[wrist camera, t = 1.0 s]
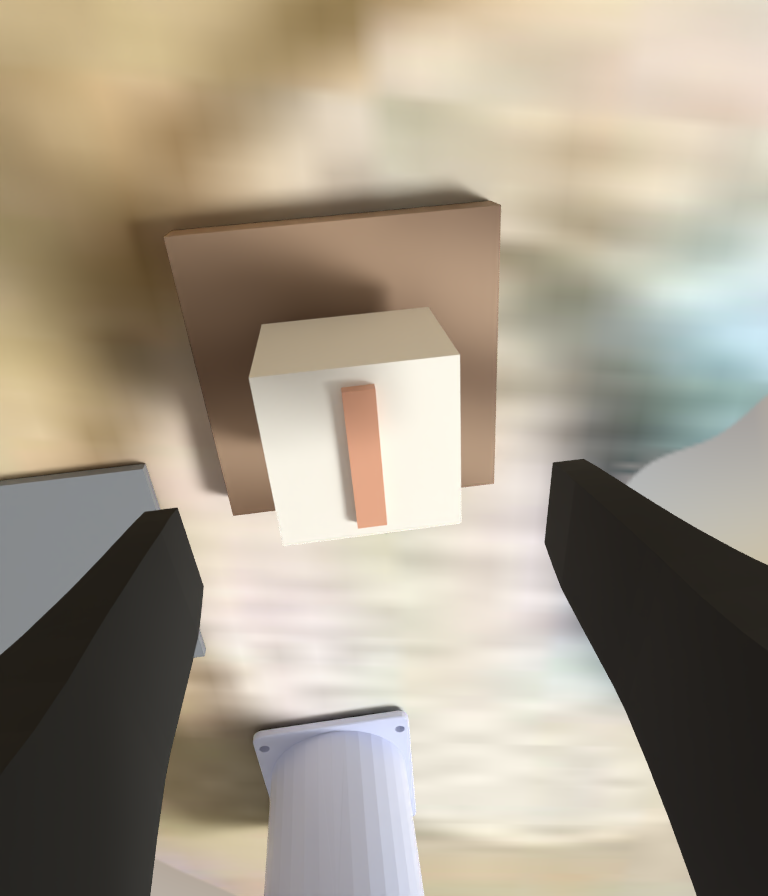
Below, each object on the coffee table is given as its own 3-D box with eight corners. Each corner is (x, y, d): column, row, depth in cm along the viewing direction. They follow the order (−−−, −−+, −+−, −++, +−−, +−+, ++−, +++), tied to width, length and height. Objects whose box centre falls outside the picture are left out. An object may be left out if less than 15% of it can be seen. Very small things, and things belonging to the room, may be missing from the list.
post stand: (485, 467, 23) (535, 565, 18) (236, 497, 23) (214, 608, 17) (490, 200, 18) (561, 229, 13) (172, 230, 18) (113, 273, 12)
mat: (206, 649, 26) (204, 655, 26) (-19, 680, 26) (-24, 687, 25) (145, 463, 21) (142, 469, 21) (-134, 496, 21) (-142, 502, 21)
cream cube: (433, 450, 20) (464, 529, 16) (288, 467, 19) (282, 553, 16) (428, 306, 17) (462, 359, 13) (261, 324, 17) (247, 383, 13)
